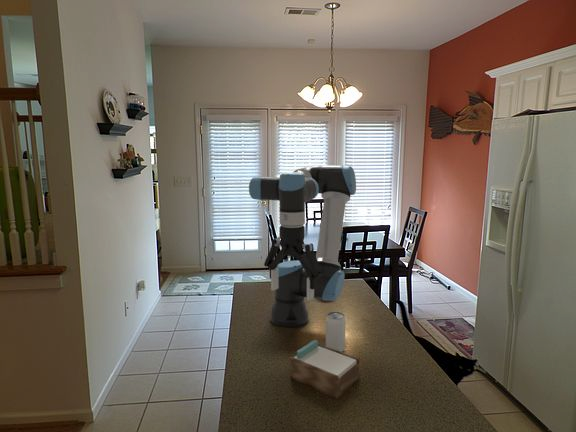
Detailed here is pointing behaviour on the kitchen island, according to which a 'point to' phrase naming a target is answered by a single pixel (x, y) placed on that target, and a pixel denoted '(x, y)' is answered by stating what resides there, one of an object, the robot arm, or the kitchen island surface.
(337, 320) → the can
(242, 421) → the kitchen island surface
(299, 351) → the lid
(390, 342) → the kitchen island surface
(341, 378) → the box
